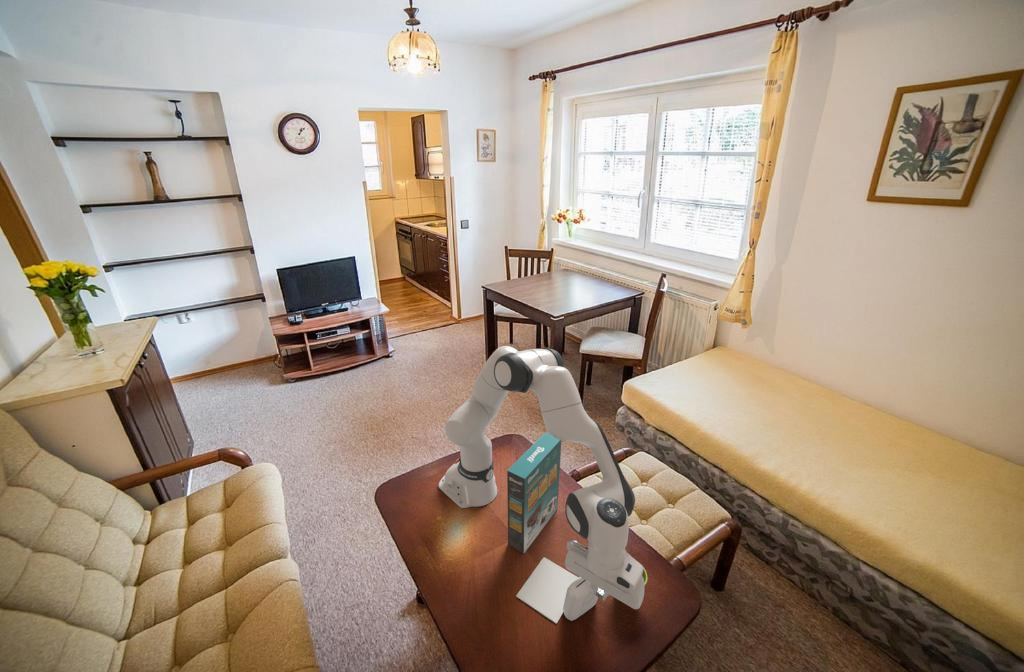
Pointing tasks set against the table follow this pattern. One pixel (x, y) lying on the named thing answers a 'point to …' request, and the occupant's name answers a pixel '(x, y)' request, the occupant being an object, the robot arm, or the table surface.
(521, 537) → the cake mix box
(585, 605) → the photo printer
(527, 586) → the mat
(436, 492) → the table surface
